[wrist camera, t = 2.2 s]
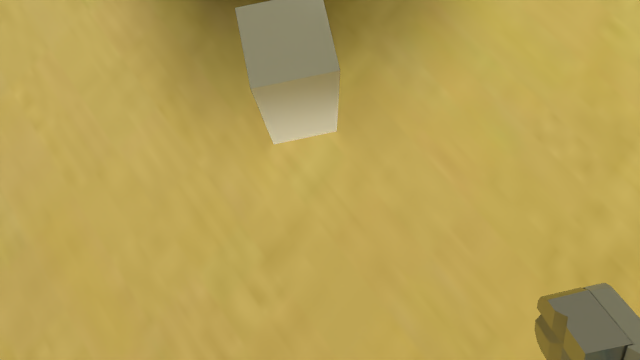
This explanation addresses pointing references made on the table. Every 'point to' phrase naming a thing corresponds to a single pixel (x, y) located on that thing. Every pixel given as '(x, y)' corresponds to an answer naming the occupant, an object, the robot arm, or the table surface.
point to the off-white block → (291, 66)
